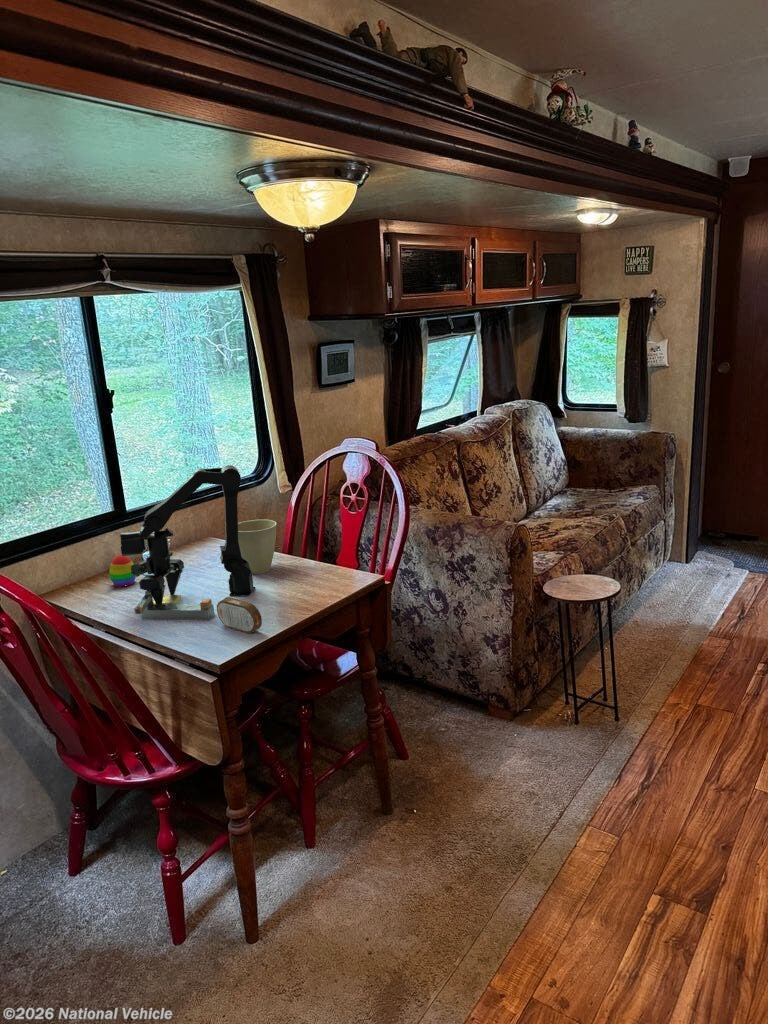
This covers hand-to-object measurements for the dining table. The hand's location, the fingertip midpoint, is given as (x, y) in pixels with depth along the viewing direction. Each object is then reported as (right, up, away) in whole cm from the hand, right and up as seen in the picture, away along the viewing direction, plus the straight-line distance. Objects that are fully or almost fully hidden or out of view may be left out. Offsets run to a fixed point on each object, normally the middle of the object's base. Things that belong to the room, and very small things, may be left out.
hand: (166, 600), depth 213 cm
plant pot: (+23, +7, +25) cm, 35 cm away
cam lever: (-1, -2, -15) cm, 15 cm away
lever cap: (0, -1, 0) cm, 2 cm away
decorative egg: (-20, +3, +19) cm, 28 cm away
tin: (+27, -5, -21) cm, 34 cm away
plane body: (+7, -3, -10) cm, 13 cm away
